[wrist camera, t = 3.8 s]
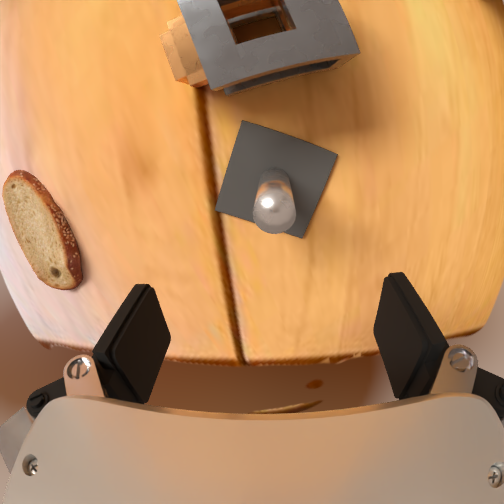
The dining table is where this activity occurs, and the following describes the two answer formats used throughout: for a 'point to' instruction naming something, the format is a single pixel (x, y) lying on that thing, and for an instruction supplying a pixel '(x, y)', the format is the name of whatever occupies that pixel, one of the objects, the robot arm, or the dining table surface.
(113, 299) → the dining table surface
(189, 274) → the dining table surface
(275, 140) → the mat
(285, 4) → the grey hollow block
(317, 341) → the dining table surface
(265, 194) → the pin
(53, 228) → the slice of bread
